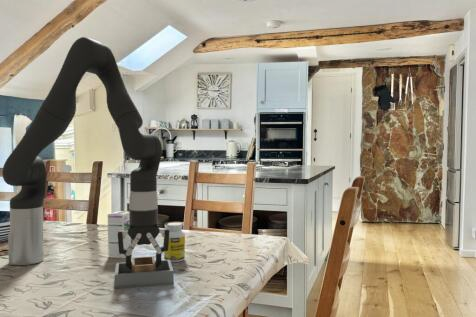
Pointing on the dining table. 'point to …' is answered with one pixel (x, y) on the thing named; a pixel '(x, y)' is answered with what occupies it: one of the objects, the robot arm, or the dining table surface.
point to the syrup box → (116, 223)
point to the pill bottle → (175, 243)
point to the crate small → (143, 264)
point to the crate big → (143, 275)
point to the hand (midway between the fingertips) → (143, 267)
